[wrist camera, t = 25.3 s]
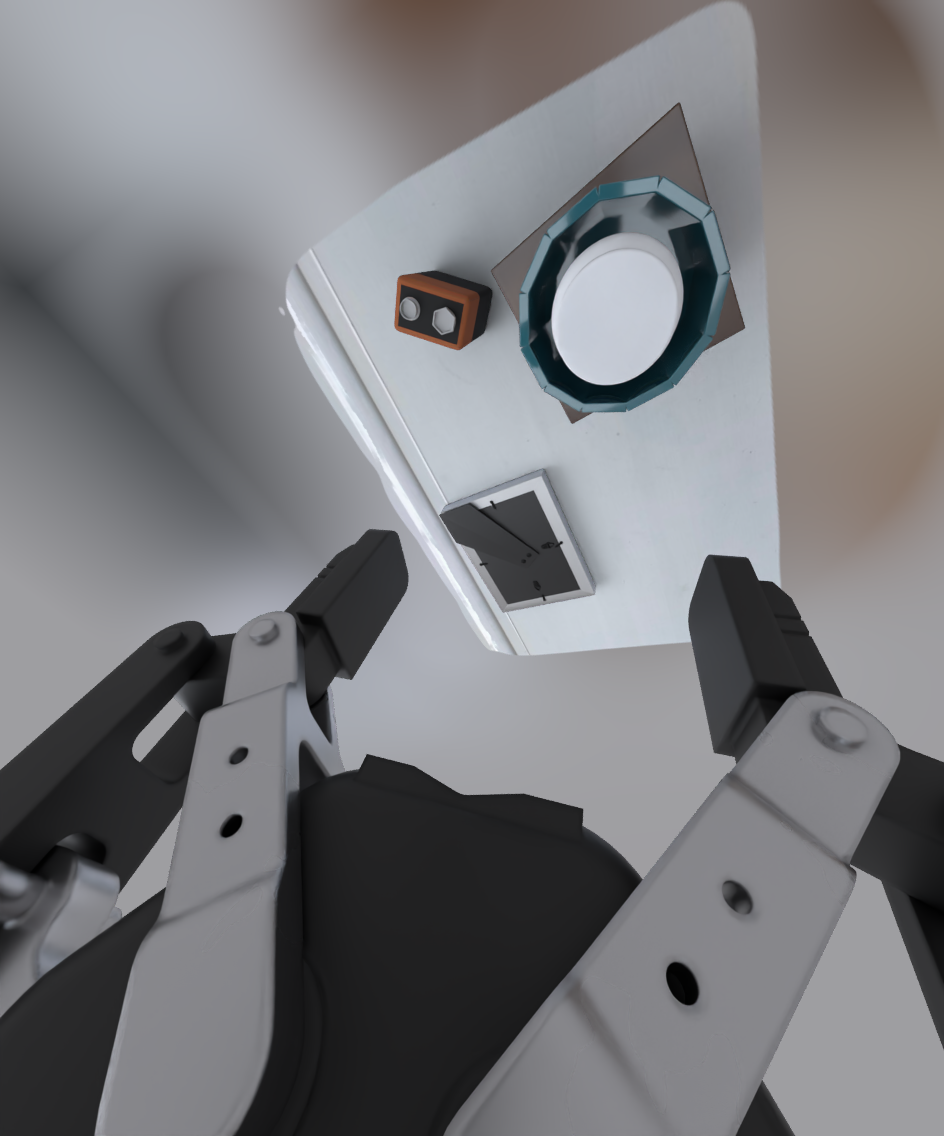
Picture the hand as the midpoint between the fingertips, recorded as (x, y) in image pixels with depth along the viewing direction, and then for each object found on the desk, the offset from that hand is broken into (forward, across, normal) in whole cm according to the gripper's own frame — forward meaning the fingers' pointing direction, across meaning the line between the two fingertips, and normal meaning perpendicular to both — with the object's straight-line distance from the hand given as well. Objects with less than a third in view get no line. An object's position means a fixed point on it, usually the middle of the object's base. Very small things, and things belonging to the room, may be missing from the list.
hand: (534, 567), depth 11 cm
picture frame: (+40, +8, +27) cm, 49 cm away
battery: (+40, +14, -4) cm, 42 cm away
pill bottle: (+21, -2, -4) cm, 21 cm away
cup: (+21, -2, -4) cm, 22 cm away
